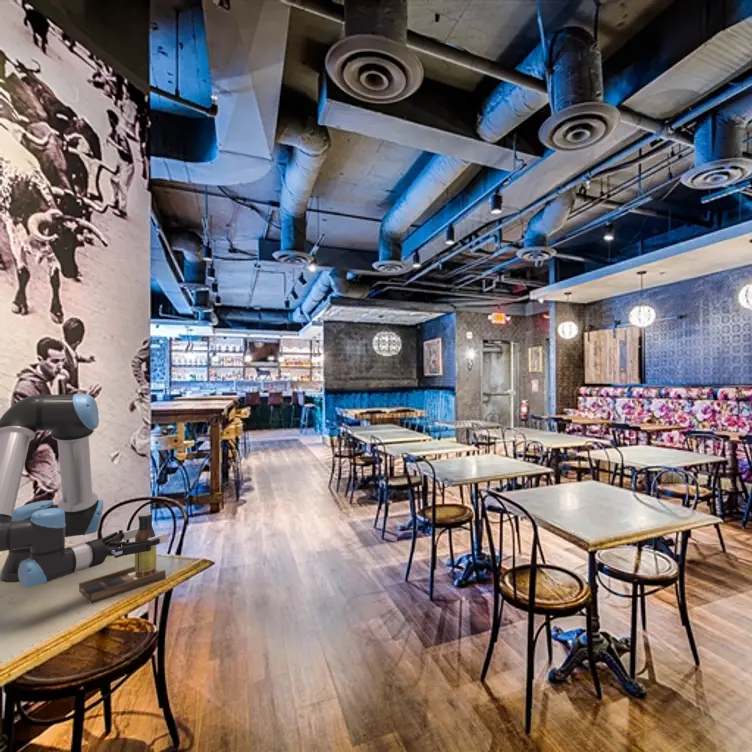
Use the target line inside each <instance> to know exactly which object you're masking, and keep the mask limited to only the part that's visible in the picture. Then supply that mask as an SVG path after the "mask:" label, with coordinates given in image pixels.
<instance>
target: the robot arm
mask: <svg viewBox="0 0 752 752" xmlns="http://www.w3.org/2000/svg"><path fill="white" fill-rule="evenodd" d="M99 421H100V418H99V408H98V404H97V402H96V399H95V397H93V395H89V394H78V393H75V394H34V395H30V396H26V397H23V398H22V399H20V400H18V401H17V402H16V403H14V404H13V405H11V406H9V408H8V409H7V410H6V411H5V412H4V413H3V415H1V418H0V552H7V551H8V555H7V556H6V558H5V561H4V564H3V566H2V569H1V571H0V580H2V579H3V580H6V581H5V582H19V583H20V585H21V586H22V587H24V588H32V587H36V586H39V585H44V584H47V583H50V582H53V581H54V580H58V579H60V578H61V579H62V578H64V577H66V576H68V575H69V576H70V575H76V574H77V573H78V572H81V571H84V570H86V569H88V568H93V567H96V566H98V565H102V564H103V563H104V562H105V560H106V558H107V557H113V556H114V557H113V558H114V559H118V558H121V557H124V556H129V555H130V556H131V555H135V553H140V552H145V551H147V552H148V551H150V550H151V547H153V546H156V547H157V546H158V545H161V544H164V543H168V542H169V540H168V539H169V536H168V535H169V533H168V532H165V533H162V534H158V535H155V537H152V538H149V539H147V540H146V541H137V542H135V541H130V542H129V541H128V540H131V539H135V536H136V534H137V532H138V530H139V527H137V528H133V529H130V530H126V531H123V529H120V530H118V531H114V532H113V533H110V534H108V535H107V536H104V537H102V538H100V539H99V538H96V539H92V540H89V541H86V542H82V543H78V544H75V545H74V544H73V545H71V546H67V547H66V544H65V543H66V538H69V537H77V536H85V535H92V534H94V533H97V532H98V531H99V528H100V525H101V520H102V515H103V508H104V500H102V499H99V498H98V495H97V494H96V493H95V492H93V487H92V468H91V466H92V465H91V454H90V453H91V452H90V451H91V450H90V439H89V438H90V436H91V435H92V434H93V433H94V430H95V429H97V428H98V427H99V423H100V422H99ZM40 431H41V432H43V431H47V432H48V431H50V435H51V436H50V437H51V438H52V439H53V440H56V441H57V451H58V462H59V473H60V483H61V484H60V485H61V492H62V495H61V496H62V497H61V498H60V500H59V501H58V503H57V504H55V503H54V501H53V500H50V499H49V500H40V501H36V502H32V503H28V504H24V505H21V506H18V507H16V502H17V499H18V494H19V490H20V485H21V481H22V476H23V472H24V468H25V464H26V459H27V455H28V451H29V446H30V442H31V441H32V440H34V439H35V437H36V435H37V432H40ZM15 507H16V508H15ZM126 541H128V542H126ZM3 580H2V581H3Z"/></svg>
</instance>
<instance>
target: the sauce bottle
mask: <svg viewBox="0 0 752 752" xmlns="http://www.w3.org/2000/svg"><path fill="white" fill-rule="evenodd" d="M137 517H138V518H137V519H138V523H139V524H138V528H139V530H138V532H137V534H136V536H135V538H134V542H137V541H146V540H147V539H149V538H152V537H155V536H156V534H155V533H156V532H155V531H154V528H153V525H152V522H153V521H152V519H153V513H151V512H144V513H140V514H139V515H138V516H137ZM134 566H135V572H136V573H135V575H136V576H137V577H144V576H148V575H151V574H154V573H155V572H156V570H157V545H156V546H153V547H151V550H150V551H148V552H147V551H145V552H140V553H135V554H134Z"/></svg>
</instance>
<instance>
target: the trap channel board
mask: <svg viewBox="0 0 752 752" xmlns="http://www.w3.org/2000/svg"><path fill="white" fill-rule="evenodd" d="M135 573H136V572H135V565H134V566H132V567H128V568H125V569H122V570H119V571H115V572H112V573H108V574H104V575H102V576H98V577H94V578H91V579H87V580H85V581H81V582H80V583H78V586H79V587H78V592H79V593H80V594H81V595H82V596H83V597H85V599H86V600H87V601H88V602H90V604H95V603H97V602H101V601H103V600H106V599H109V598H113V597H115V596H118V595H122V594H124V593H127V592H130V591H134V590H136V589H139V588H141V587H145V586H147V585H150V583H151V584H154V583H156V582H160V581H162V580H164V579H166V569H165V570H160V571H159V570H158V569H156V572H155V573H154V574H151V575H148V576H144V577H137V576H136V575H135ZM153 582H154V583H153Z"/></svg>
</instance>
